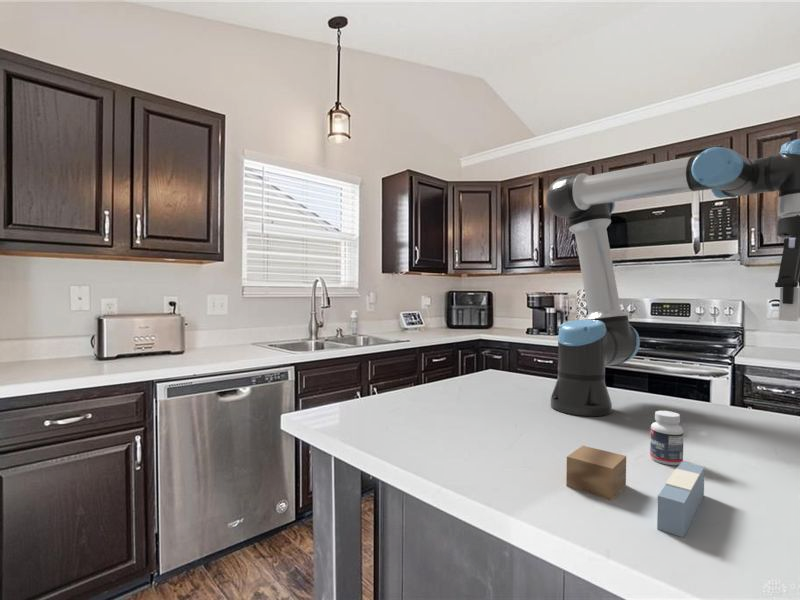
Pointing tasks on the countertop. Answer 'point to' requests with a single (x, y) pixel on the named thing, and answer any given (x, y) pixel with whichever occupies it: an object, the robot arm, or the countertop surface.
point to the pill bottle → (667, 438)
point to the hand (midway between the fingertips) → (796, 319)
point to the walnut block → (596, 472)
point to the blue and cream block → (680, 498)
